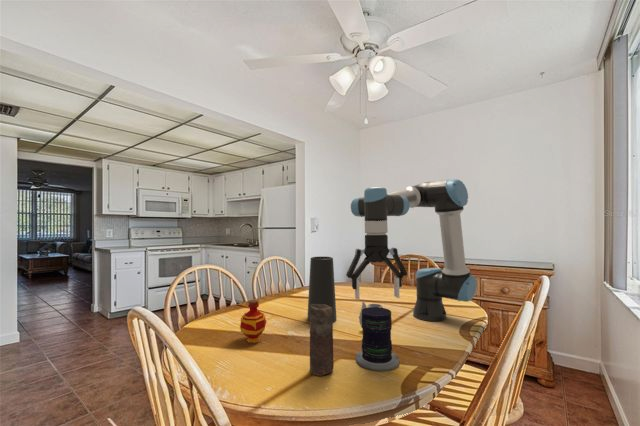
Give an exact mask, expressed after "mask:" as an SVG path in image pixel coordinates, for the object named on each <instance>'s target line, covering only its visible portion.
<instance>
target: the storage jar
mask: <svg viewBox="0 0 640 426" xmlns="http://www.w3.org/2000/svg"><path fill="white" fill-rule="evenodd" d="M392 320H393V319H392V310H390V309H388V308H385V307H383V308H380V307H369V308H364V309H362V327H361V328H362V339H361V350H362V352H363V353H362V357H363V359H364V360H366V361H368V362H371V363H377V364H382V363H387V362H389V361H391V360H392V355H391V354H392V352H393V346H392V345H393V343H392V329H393V328H392V327H393V326H392V322H393V321H392Z"/></svg>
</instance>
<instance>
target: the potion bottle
mask: <svg viewBox="0 0 640 426" xmlns="http://www.w3.org/2000/svg"><path fill="white" fill-rule="evenodd" d="M259 306H260V304H259V300H258V299H250V300H248V305H247V307H248V308H249V311H247V312H245V313H243V315H241V318H240V325H239V329H240V332H241V333H243V335H244V336H246V337H247V340H246V342H247V341H248V342H247V343H249V342H250V343H251V342H253V343H257V342H260V341H261V338H260V337H261V335H263V334H262V333H263V332H264V331H265V329H266V325H267V320H266V315H265V314H264V313H263V312H261V310H259V309H258V308H259Z"/></svg>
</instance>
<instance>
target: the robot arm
mask: <svg viewBox="0 0 640 426" xmlns="http://www.w3.org/2000/svg"><path fill="white" fill-rule="evenodd" d="M363 193H364V195H363V197H362V196H360V197H355V198H354V199H352V200H351V203H350V212H351V214H352V215H353V216H355V217H361V218H364V234H365V235H364V249H361V248H356V249H355V251H354V252H355V254H354V257H353V259H352V260H351V261H352V262H351V263H350V265H349V267H348V270H347V272H346V274H345V275H346V277H347V278H349V279H351V287H352V289H353V290H354V295H355V296H354V297H355V300H357V301H360V279H359V278H358V277H359V276H361V274H362V272H363V271H364V270H365V269H366V267H367V266H368V265H369V264H370V263H383V262H384V263H385V264H386V266H388V268H389V269H390V270H391V271H392V273H393V274H395V275H394V276H393V293H394V295H393V296H394V297H395V298H397V299H400V288H402V286H403V282H402V281H403V280H402V279H403V278H404V276H405V277H406V276H407V275H408V272H407V270H406V268H405V265H404V264H403V262H402V260H401V258H400V256H399V253H398V248H397V247H391V248H389V245H388V243H389V241H388V239H389V237H388V234H387V233H388V232H389V229H388V217H402V216H405V215H406V214H407V213H408V212H409V211H410V208H411V209H413V208H434V212H435V213H436V214H437V215H438V217H439V225H440V226H439V228H440V235H441V243H442V252H443V253H442V254H443V262H444V263H443V264H444V267H443V269H442V268H440V267H428V268H427V267H424V268H420V269H418V270H416V274H415V275H416V276H415V280H416V281H415V283H416V300H415V303H414V307H413V310H412V317H414V318H416V319H419V320H423V321H426V322H442V321H445V320H447V311H446V308H445V306H444V303H443V298H444V299H450V300H454V301H457V302H470V301H472V299H473V298H474V297H475V295H476V291H477V286H478V285H477V284H478V281H477V278H476V276H475V275H472V274H471V271H470V270H471V269H470V268H468V267H467V266H466V257H465V248H464V237H463V229H462V227H463V226H462V219H461V217H462V216H461V214H462V212H463V211H464V206H466V205H468V203H469V202H468V201H469V200H468V199H469V193H468V188H467V187H466V185H465V183H464V182H463V181H461V180H460V179H455V178H454V179H442V180H435V181H427V182H422V183H419V184H418V183H417V184H416V185H412V186H407V187H405V188H404V189H403V190H397V191H392V192H388V191H387V188H385V187H381V186H380V187H378V186H377V187H368V188H365V190H364V191H363ZM363 254H364V256H365V258H364V259H363V261H362V262H361V263H360V265H359V266H358V264H359V261H360V259H361V257H362V256H363ZM389 254H390V255H391V256H392V258H393V260H394V261H395V264H396V266H397V268H396V266H395V264H393V262H391V260H390V259H389V257H388V255H389ZM357 266H358V267H357ZM356 267H357V269H356Z"/></svg>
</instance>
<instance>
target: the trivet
mask: <svg viewBox="0 0 640 426" xmlns="http://www.w3.org/2000/svg"><path fill="white" fill-rule="evenodd" d="M362 353H363V352H362V349H361V350H359V351H357V353H356V354H355V362H356V364H357V365H358V366H359V367H361V368H363V369H366V370H369V371H374V372H389V371H392V370H395V369H396V368H397V367H399V365H400V359H399V356H398V355H397V354H396V353H394V352H393V351H392V354H391V355H392V360H391V361H389V362H387V363H382V364H377V363H371V362H368V361H366V360H364V359H363V357H362Z"/></svg>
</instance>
